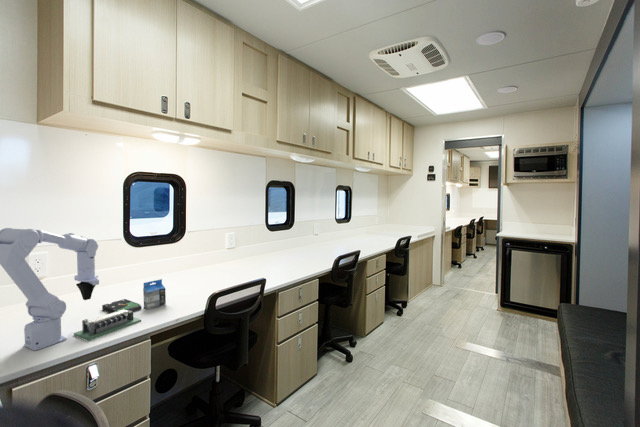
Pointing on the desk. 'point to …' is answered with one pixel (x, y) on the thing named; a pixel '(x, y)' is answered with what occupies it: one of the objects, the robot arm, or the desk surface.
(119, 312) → the strap
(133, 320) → the board
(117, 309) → the disk drive
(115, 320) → the heat sink
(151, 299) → the label tape box
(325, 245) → the desk surface
